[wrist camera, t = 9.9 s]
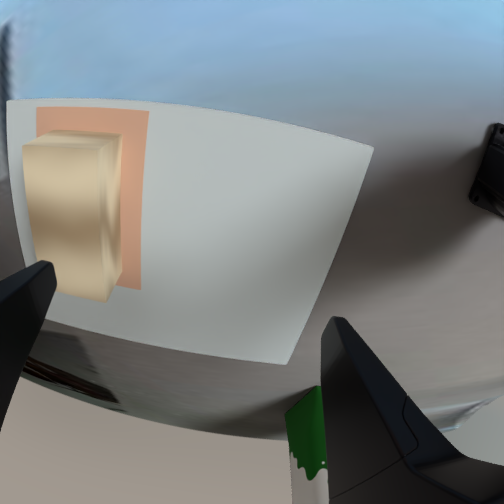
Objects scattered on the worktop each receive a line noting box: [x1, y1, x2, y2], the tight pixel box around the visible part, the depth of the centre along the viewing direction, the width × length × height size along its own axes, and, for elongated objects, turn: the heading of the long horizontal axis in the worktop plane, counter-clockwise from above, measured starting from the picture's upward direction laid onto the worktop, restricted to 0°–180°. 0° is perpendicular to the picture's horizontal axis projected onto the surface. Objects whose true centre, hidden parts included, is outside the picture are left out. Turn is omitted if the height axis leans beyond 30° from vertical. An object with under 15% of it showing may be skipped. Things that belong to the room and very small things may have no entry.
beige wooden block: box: [22, 130, 123, 303], centre depth 17 cm, size 10×5×4 cm, turn 169°
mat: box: [7, 98, 374, 365], centre depth 21 cm, size 24×20×1 cm
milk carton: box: [285, 386, 330, 504], centre depth 25 cm, size 9×9×20 cm
